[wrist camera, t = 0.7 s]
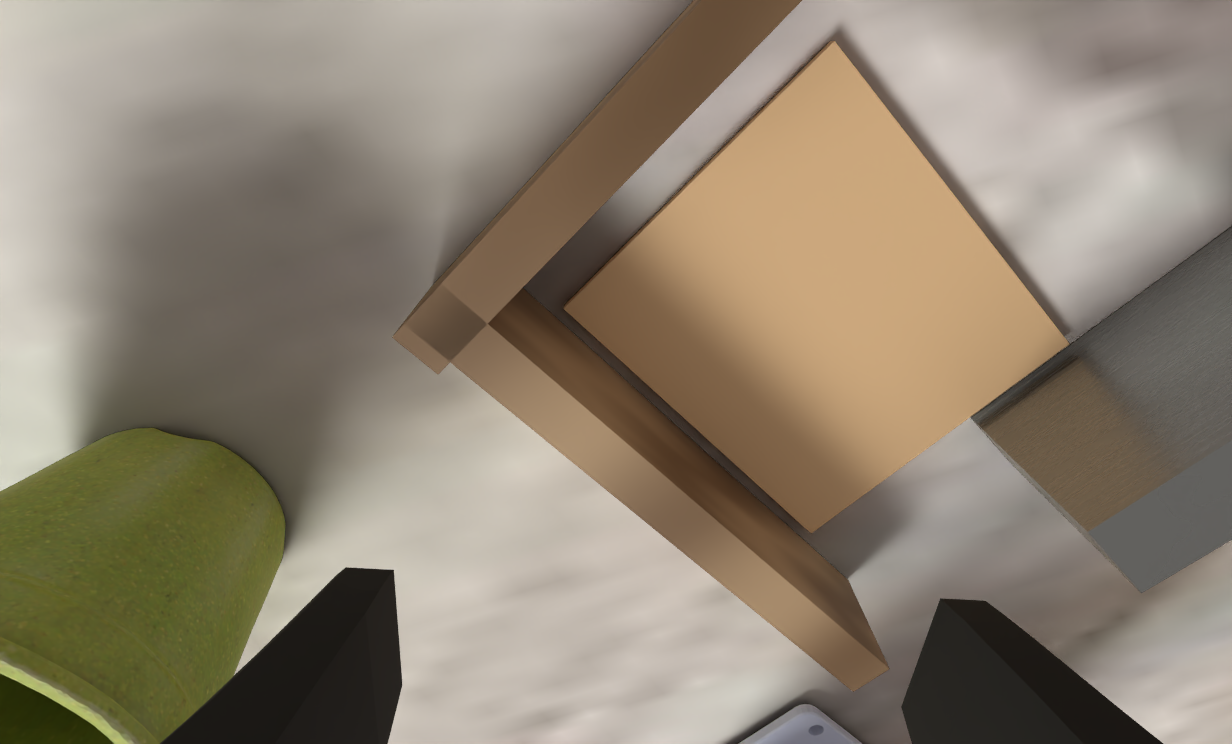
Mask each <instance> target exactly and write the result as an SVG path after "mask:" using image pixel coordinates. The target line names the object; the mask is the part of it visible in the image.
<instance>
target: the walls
mask: <svg viewBox="0 0 1232 744" xmlns="http://www.w3.org/2000/svg"><path fill="white" fill-rule="evenodd" d="M801 1H802V0H693V1H692V2H691V4H690V5H689V6H688V7H687V8H686V9H685V10H684V11H683V12H682V13H681V14H680V16H679V17H678V18H677V19H676V20H675V21H674V22H673V23H672V24H671V25H670V27H669V28H668V29H667V30H666V31H665V32H664V33H663V34H662V35H661V36H660V37H659V39H658V40H657V41H656V42H655V43H654V44H653V45H652V46H651V47H650V48H649V49H648V51H647V52H646V53H645V54H644V55H643V56H642V57H641V58H640V59H639V60H638V61H637V63H636V64H635V65H634V66H633V67H632V68H631V69H630V70H629V71H628V72H627V74H626V75H625V76H624V77H623V78H622V79H621V80H620V81H619V82H618V83H617V84H616V86H615V87H614V88H613V89H612V90H611V91H610V92H609V93H608V94H607V95H606V96H605V98H604V99H603V100H602V101H601V102H600V103H599V104H598V105H597V106H596V107H595V108H594V110H593V111H592V112H591V113H590V114H589V115H588V116H587V117H586V118H585V119H584V121H583V122H582V123H581V124H580V125H579V126H578V127H577V128H576V129H575V130H574V131H573V133H572V134H571V135H570V136H569V137H568V138H567V139H566V140H565V141H564V142H563V143H562V145H561V146H560V147H559V148H558V149H557V150H556V151H555V152H554V153H553V154H552V155H551V157H550V158H549V159H548V160H547V161H546V162H545V163H544V164H543V165H542V166H541V168H540V169H539V170H538V171H537V172H536V173H535V174H534V175H533V176H532V177H531V178H530V180H529V181H528V182H527V183H526V184H525V185H524V186H523V187H522V188H521V189H520V190H519V192H518V193H517V194H516V195H515V196H514V197H513V198H512V199H511V200H510V201H509V202H508V204H507V205H506V206H505V207H504V208H503V209H502V210H501V211H500V212H499V213H498V215H497V216H496V217H495V218H494V219H493V220H492V221H491V222H490V223H489V224H488V225H487V227H486V228H485V229H484V230H483V231H482V232H481V233H480V234H479V235H478V236H477V237H476V239H475V240H474V241H473V242H472V243H471V244H470V245H469V246H468V247H467V248H466V249H465V251H464V252H463V253H462V254H461V255H460V256H459V257H458V258H457V259H456V260H455V262H454V263H453V264H452V265H451V266H450V267H449V268H448V269H447V270H446V271H445V272H444V274H443V275H442V276H441V277H440V278H439V279H438V280H437V281H436V282H435V283H434V284H433V286H432V287H431V288H430V289H429V290H428V292H427V293H426V294H425V296H424V297H423V298H422V299H421V301H420V302H419V303H418V305H417V306H416V307H415V308H414V310H413V311H412V312H411V314H410V315H409V316H408V317H407V319H406V320H405V321H404V323H403V324H402V325H401V326H400V328H399V329H398V330H397V332H396V333H395V334H394V335H393V337H392V338H393V339H395V340H396V341H397V342H398V343H400V344H401V345H402V346H403V347H405V348H406V349H407V350H408V351H410V352H411V353H412V354H413V355H414V356H416V357H417V358H418V359H419V360H421V361H422V362H423V363H424V364H426V365H427V366H428V367H429V368H431V369H432V370H433V371H434V372H436V373H437V374H439V373H440V372H441V371H442V370H443V369H444V368H445V367H446V366H447V365H448V364H449V363H450V362H451V363H452V364H453V365H454V366H455V367H457V368H458V369H459V370H460V371H462V372H463V373H464V374H465V375H466V376H468V377H469V378H470V379H471V380H473V381H474V382H475V383H476V384H478V385H479V386H480V387H481V388H482V389H484V390H485V391H486V392H487V393H489V394H490V395H491V396H492V397H493V398H495V399H496V400H497V401H498V402H500V403H501V404H502V405H503V406H504V407H506V408H507V409H508V410H509V411H511V412H512V413H513V414H514V415H515V416H517V417H518V418H519V419H520V420H522V421H523V422H524V423H525V424H526V425H528V426H529V427H530V428H531V429H533V430H534V431H535V432H536V433H537V434H539V435H540V436H541V437H542V438H544V439H545V440H546V441H547V442H548V443H550V444H551V445H552V446H553V447H555V448H556V449H557V450H558V451H559V452H561V453H562V454H563V455H564V456H566V457H567V458H568V459H569V460H570V461H572V462H573V463H574V464H575V465H577V466H578V467H579V468H580V469H581V470H583V471H584V472H585V473H586V474H588V475H589V476H590V477H591V478H592V479H594V480H595V481H596V482H597V483H599V484H600V485H601V486H602V487H603V488H605V489H606V490H607V491H608V492H610V493H611V494H612V495H613V496H614V497H616V498H617V499H618V500H619V501H621V502H622V503H623V504H624V505H625V506H627V507H628V508H629V509H630V510H632V511H633V512H634V513H635V514H636V515H638V516H639V517H640V518H641V519H643V520H644V521H645V522H646V523H647V524H649V525H650V526H651V527H652V528H654V529H655V530H656V531H657V532H658V533H660V534H661V535H662V536H663V537H665V538H666V539H667V540H668V541H669V542H671V543H672V544H673V545H674V546H676V547H677V548H678V549H679V550H680V551H682V552H683V553H684V554H685V555H687V556H688V557H689V558H690V559H691V560H693V561H694V562H695V563H696V564H698V565H699V566H700V567H701V568H702V569H704V570H705V571H706V572H707V573H709V574H710V575H711V576H712V577H714V578H715V579H716V580H717V581H718V582H720V583H721V584H722V585H723V586H725V587H726V588H727V589H728V590H729V591H731V592H732V593H733V594H734V595H736V596H737V597H738V598H739V599H740V600H742V601H743V602H744V603H745V604H747V605H748V606H749V607H750V608H751V609H753V610H754V611H755V612H756V613H758V614H759V615H760V616H761V617H762V618H764V619H765V620H766V621H767V622H769V623H770V624H771V625H772V626H773V627H775V628H776V629H777V630H778V631H780V632H781V633H782V634H783V635H784V636H786V637H787V638H788V639H789V640H791V641H792V642H793V643H794V644H795V645H797V646H798V647H799V648H800V649H802V650H803V651H804V652H805V653H806V654H808V655H809V656H810V657H811V658H813V659H814V660H815V661H816V662H817V663H819V664H820V665H821V666H822V667H824V668H825V669H826V670H827V671H828V672H830V673H831V674H832V675H833V676H835V677H836V678H837V679H838V680H839V681H841V682H842V683H843V684H844V685H846V686H847V687H848V688H849V689H850V690H852V691H853V692H854V691H856V690H857V689H859V688H860V687H862V686H863V685H865V684H867V683H868V682H870V681H871V680H873V679H874V678H876V677H878V676H879V675H881V674H882V673H884V672H886V671H887V670H889V667H888V664H887V662H886V660H885V658H884V656H883V654H882V652H881V649H880V647H879V645H878V643H877V641H876V639H875V637H874V634H873V632H872V630H871V628H870V626H869V624H868V622H867V619H866V617H865V615H864V613H863V611H862V609H861V607H860V605H859V602H858V600H857V598H856V596H855V594H854V592H853V590H852V587H851V585H850V583H849V581H848V579H846V578H845V577H844V576H843V575H842V574H841V573H840V572H839V571H838V570H836V569H835V568H834V567H833V566H832V565H831V564H830V563H829V562H828V561H826V560H825V559H824V558H823V557H822V556H821V555H820V554H819V553H818V552H816V551H815V550H814V549H813V548H812V547H811V546H810V545H809V544H808V543H806V542H805V541H804V540H803V539H802V538H801V537H800V536H799V535H797V534H796V533H795V532H794V531H793V530H792V529H791V528H790V527H789V526H787V525H786V524H785V523H784V522H783V521H782V520H781V519H780V518H779V517H777V516H776V515H775V514H774V513H773V512H772V511H771V510H770V509H769V508H767V507H766V506H765V505H764V504H763V503H762V502H761V501H760V500H759V499H757V498H756V497H755V496H754V495H753V494H752V493H751V492H750V491H749V490H747V489H746V488H745V487H744V486H743V485H742V484H741V483H740V482H739V481H737V480H736V479H735V478H734V477H733V476H732V475H731V474H730V473H728V472H727V471H726V470H725V469H724V468H723V467H722V466H721V465H720V464H718V463H717V462H716V461H715V460H714V459H713V458H712V457H711V456H710V455H708V454H707V453H706V452H705V451H704V450H703V449H702V448H701V447H700V446H698V445H697V444H696V443H695V442H694V441H693V440H692V439H691V438H690V437H688V436H687V435H686V434H685V433H684V432H683V431H682V430H681V429H680V428H678V427H677V426H676V425H675V424H674V423H673V422H672V421H671V420H669V419H668V418H667V417H666V416H665V415H664V414H663V413H662V412H661V411H659V410H658V409H657V408H656V407H655V406H654V405H653V404H652V403H651V402H649V401H648V400H647V399H646V398H645V397H644V396H643V395H642V394H641V393H639V392H638V391H637V390H636V389H635V388H634V387H633V386H632V385H631V384H629V383H628V382H627V381H626V380H625V379H624V378H623V377H622V376H621V375H619V374H618V373H617V372H616V371H615V370H614V369H613V368H612V367H611V366H609V365H608V364H607V363H606V362H605V361H604V360H603V359H602V358H600V357H599V356H598V355H597V354H596V353H595V352H594V351H593V350H592V349H590V348H589V347H588V346H587V345H586V344H585V343H584V342H583V341H582V340H580V339H579V338H578V337H577V336H576V335H575V334H574V333H573V332H572V331H570V330H569V329H568V328H567V327H566V326H565V325H564V324H563V323H562V322H560V321H559V320H558V319H557V318H556V317H555V316H554V315H553V314H552V313H550V312H549V311H548V310H547V309H546V308H545V307H544V306H543V305H542V304H540V303H539V302H538V301H537V300H536V299H535V298H534V297H533V296H531V295H530V294H529V293H528V292H527V291H526V290H525V289H524V288H523V287H524V286H525V285H526V284H527V283H528V282H529V281H530V280H531V279H532V278H533V276H534V275H535V274H536V273H537V272H538V271H539V270H540V269H541V268H542V267H543V266H544V265H545V264H546V263H547V262H548V261H549V260H550V259H551V258H552V257H553V256H554V255H555V254H556V253H557V252H558V251H559V250H560V249H561V248H562V247H563V246H564V245H565V244H566V243H567V242H568V240H569V239H570V238H571V237H572V236H573V235H574V234H575V233H576V232H577V231H578V230H579V229H580V228H581V227H582V226H583V225H584V224H585V223H586V222H587V221H588V220H589V219H590V218H591V217H592V216H593V215H594V214H595V213H596V212H597V211H598V210H599V209H600V208H601V207H602V206H603V205H604V203H605V202H606V201H607V200H608V199H609V198H610V197H611V196H612V195H613V194H614V193H615V192H616V191H617V190H618V189H619V188H620V187H621V186H622V185H623V184H624V183H625V182H626V181H627V180H628V179H629V178H630V177H631V176H632V175H633V174H634V173H635V172H636V171H637V170H638V169H639V167H640V166H641V165H642V164H643V163H644V162H645V161H646V160H647V159H648V158H649V157H650V156H651V155H652V154H653V153H654V152H655V151H656V150H657V149H658V148H659V147H660V146H661V145H662V144H663V143H664V142H665V141H666V140H667V139H668V138H669V137H670V136H671V135H672V134H673V133H674V132H675V130H676V129H677V128H678V127H679V126H680V125H681V124H682V123H683V122H684V121H685V120H686V119H687V118H688V117H689V116H690V115H691V114H692V113H693V112H694V111H695V110H696V109H697V108H698V107H699V106H700V105H701V104H702V103H703V102H704V101H705V100H706V99H707V98H708V97H709V96H710V95H711V93H712V92H713V91H714V90H715V89H716V88H717V87H718V86H719V85H720V84H721V83H722V82H723V81H724V80H725V79H726V78H727V77H728V76H729V75H730V74H731V73H732V72H733V71H734V70H735V69H736V68H737V67H738V66H739V65H740V64H741V63H742V62H743V61H744V60H745V59H746V57H747V56H748V55H749V54H750V53H751V52H752V51H753V50H754V49H755V48H756V47H757V46H758V45H759V44H760V43H761V42H762V41H763V40H764V39H765V38H766V37H767V36H768V35H769V34H770V33H771V32H772V31H773V30H774V29H775V28H776V27H777V26H778V25H779V24H780V23H781V22H782V20H783V19H784V18H785V17H786V16H787V15H788V14H789V13H790V12H791V11H792V10H793V9H794V8H795V7H796V6H797V5H798V4H799V3H800V2H801Z"/></svg>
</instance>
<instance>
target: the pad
mask: <svg viewBox="0 0 1232 744" xmlns="http://www.w3.org/2000/svg"><path fill="white" fill-rule="evenodd" d="M564 310H566V311H567V312H568V313H569V314H570V315H571V316H572V317H573V318H574V319H575V320H577V321H578V322H579V323H580V324H581V325H582V326H583V327H584V328H585V329H586V330H588V331H589V332H590V333H591V334H592V335H593V336H594V337H595V338H596V339H597V340H599V341H600V342H601V343H602V344H603V345H604V346H605V347H606V348H607V349H608V350H610V351H611V352H612V353H613V354H614V355H615V356H616V357H617V358H618V359H619V360H621V361H622V362H623V363H624V364H625V365H626V366H627V367H628V368H629V369H630V370H632V371H633V372H634V373H635V374H636V375H637V376H638V377H639V378H640V379H642V380H643V381H644V382H645V383H646V384H647V385H648V386H649V387H650V388H651V389H653V390H654V391H655V392H656V393H657V394H658V395H659V396H660V397H661V398H662V399H664V400H665V401H666V402H667V403H668V404H669V405H670V406H671V407H672V408H673V409H675V410H676V411H677V412H678V413H679V414H680V415H681V416H682V417H683V418H684V419H686V420H687V421H688V422H689V423H690V424H691V425H692V426H693V427H694V428H695V429H697V430H698V431H699V432H700V433H701V434H702V435H703V436H704V437H705V438H706V439H708V440H709V441H710V442H711V443H712V444H713V445H714V446H715V447H716V448H717V449H719V450H720V451H721V452H722V453H723V454H724V455H725V456H726V457H727V458H728V459H730V460H731V461H732V462H733V463H734V464H735V465H736V466H737V467H738V468H740V469H741V470H742V471H743V472H744V473H745V474H746V475H747V476H748V477H749V478H751V479H752V480H753V481H754V482H755V483H756V484H757V485H758V486H759V487H760V488H762V489H763V490H764V491H765V492H766V493H767V494H768V495H769V496H770V497H771V498H773V499H774V500H775V501H776V502H777V503H778V504H779V505H780V506H781V507H782V508H784V509H785V510H786V511H787V512H788V513H789V514H790V515H791V516H792V517H793V518H795V519H796V520H797V521H798V522H799V523H800V524H801V525H802V526H803V527H804V528H806V529H807V530H808V531H809V532H810V533H813V532H814V531H815V530H817V529H818V528H819V527H821V526H822V525H823V524H825V523H826V522H828V521H829V520H830V519H832V518H833V517H834V516H836V515H837V514H839V513H840V512H841V511H843V510H844V509H845V508H847V507H848V506H849V505H851V504H852V503H854V502H855V501H856V500H858V499H859V498H860V497H862V496H863V495H864V494H866V493H867V492H869V491H870V490H871V489H873V488H874V487H875V486H877V485H878V484H879V483H881V482H882V481H884V480H885V479H886V478H888V477H889V476H890V475H892V474H893V473H894V472H896V471H897V470H899V469H900V468H901V467H903V466H904V465H905V464H907V463H908V462H909V461H911V460H912V459H914V458H915V457H916V456H918V455H919V454H920V453H922V452H923V451H924V450H926V449H927V448H929V447H930V446H931V445H933V444H934V443H935V442H937V441H938V440H939V439H941V438H942V437H944V436H945V435H946V434H948V433H949V432H950V431H952V430H953V429H954V428H956V427H957V426H959V425H960V424H961V423H963V422H964V421H965V420H967V419H968V418H969V417H971V416H972V415H974V414H975V413H976V412H978V411H979V410H980V409H982V408H983V407H984V406H986V405H987V404H989V403H990V402H991V401H993V400H994V399H995V398H997V397H998V396H999V395H1001V394H1002V393H1004V392H1005V391H1006V390H1008V389H1009V388H1010V387H1012V386H1013V385H1014V384H1016V383H1017V382H1019V381H1020V380H1021V379H1023V378H1024V377H1025V376H1027V375H1028V374H1029V373H1031V372H1032V371H1034V370H1035V369H1036V368H1038V367H1039V366H1040V365H1042V364H1043V363H1044V362H1046V361H1047V360H1049V359H1050V358H1051V357H1053V356H1054V355H1055V354H1057V353H1058V352H1059V351H1061V350H1062V349H1064V348H1065V347H1066V346H1068V345H1069V343H1068V341H1067V340H1066V339H1065V337H1064V336H1063V335H1062V334H1061V332H1060V331H1059V330H1058V328H1057V327H1056V326H1055V325H1054V323H1053V322H1052V321H1051V319H1050V318H1049V317H1048V316H1047V314H1046V313H1045V312H1044V310H1043V309H1042V308H1041V307H1040V305H1039V304H1038V303H1037V301H1036V300H1035V299H1034V297H1033V296H1032V295H1031V294H1030V292H1029V291H1028V290H1027V288H1026V287H1025V286H1024V285H1023V283H1022V282H1021V281H1020V279H1019V278H1018V277H1017V276H1016V274H1015V273H1014V272H1013V270H1012V269H1011V268H1010V267H1009V265H1008V264H1007V263H1006V261H1005V260H1004V259H1003V257H1002V256H1001V255H1000V254H999V252H998V251H997V250H996V248H995V247H994V246H993V245H992V243H991V242H990V241H989V239H988V238H987V237H986V236H985V234H984V233H983V232H982V230H981V229H980V228H979V227H978V225H977V224H976V223H975V221H974V220H973V219H972V218H971V216H970V215H969V214H968V212H967V211H966V210H965V208H964V207H963V206H962V205H961V203H960V202H959V201H958V199H957V198H956V197H955V196H954V194H953V193H952V192H951V190H950V189H949V188H948V187H947V185H946V184H945V183H944V181H943V180H942V179H941V178H940V176H939V175H938V174H937V172H936V171H935V170H934V168H933V167H932V166H931V165H930V163H929V162H928V161H927V159H926V158H925V157H924V156H923V154H922V153H921V152H920V150H919V149H918V148H917V147H916V145H915V144H914V143H913V141H912V140H911V139H910V138H909V136H908V135H907V134H906V132H905V131H904V130H903V129H902V127H901V126H900V125H899V123H898V122H897V121H896V119H895V118H894V117H893V116H892V114H891V113H890V112H889V110H888V109H887V108H886V107H885V105H884V104H883V103H882V101H881V100H880V99H879V98H878V96H877V95H876V94H875V92H874V91H873V90H872V89H871V87H870V86H869V85H868V83H867V82H866V81H865V79H864V78H863V77H862V76H861V74H860V73H859V72H858V70H857V69H856V68H855V67H854V65H853V64H852V63H851V61H850V60H849V59H848V58H847V56H846V55H845V54H844V52H843V51H842V50H841V49H840V47H839V46H838V45H837V43H836V42H835V41H830V42H829V43H828V44H827V45H826V46H825V47H824V48H823V49H822V50H821V51H820V52H819V53H818V54H817V55H816V56H815V57H814V58H813V59H812V60H811V61H810V62H809V63H808V64H807V65H806V66H805V67H804V68H803V69H802V70H801V71H800V72H799V73H798V74H797V75H796V76H795V77H794V78H793V79H792V80H791V81H790V82H789V83H788V84H787V85H786V86H785V87H784V88H783V89H782V90H781V91H780V92H779V93H778V94H777V95H776V96H775V97H774V98H773V99H772V100H771V101H770V102H769V103H768V104H767V105H766V106H765V107H764V108H763V109H762V110H761V111H760V112H759V113H758V114H757V115H756V116H754V117H753V118H752V119H751V120H750V121H749V122H748V123H747V124H746V125H745V126H744V127H743V128H742V129H741V130H740V131H739V132H738V133H737V134H736V135H735V136H734V137H733V138H732V139H731V140H730V141H729V142H728V143H727V144H726V145H725V146H724V147H723V148H722V149H721V150H720V151H719V152H718V153H717V154H716V155H715V156H714V157H713V158H712V159H711V160H710V161H709V162H708V163H707V164H706V165H705V166H704V167H703V168H702V169H701V170H700V171H699V172H698V173H697V174H696V175H695V176H694V177H693V178H692V179H691V180H690V181H689V182H688V183H687V184H686V185H685V186H684V187H683V188H682V189H681V190H680V191H679V192H678V193H677V194H676V195H675V196H674V197H673V198H672V199H671V200H670V201H669V202H668V203H667V204H666V205H665V206H664V207H663V208H662V209H661V210H660V211H659V212H658V213H657V214H656V215H655V216H654V217H653V218H652V219H650V220H649V221H648V222H647V223H646V224H645V225H644V226H643V227H642V228H641V229H640V230H639V231H638V232H637V233H636V234H635V235H634V236H633V237H632V238H631V239H630V240H629V241H628V242H627V243H626V244H625V245H624V246H623V247H622V248H621V249H620V250H619V251H618V252H617V253H616V254H615V255H614V256H613V257H612V258H611V259H610V260H609V261H608V262H607V263H606V264H605V265H604V266H603V267H602V268H601V269H600V270H599V271H598V272H597V273H596V274H595V275H594V276H593V277H592V278H591V279H590V280H589V281H588V282H587V283H586V284H585V285H584V286H583V287H582V288H581V289H580V290H579V291H578V292H577V293H576V294H575V295H574V296H573V297H572V298H571V299H570V300H569V301H568V302H567V303H566V304H565V305H564Z"/></svg>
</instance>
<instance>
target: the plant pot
mask: <svg viewBox="0 0 1232 744" xmlns="http://www.w3.org/2000/svg"><path fill="white" fill-rule="evenodd" d="M284 539H285V518H284V514H283V511H282V508H281V505H280V503H279V501H278V499H277V498H276V496H275V494H274V492H273V490H272V489H271V487H270V486H269V484H268V483H267V482H266V481H265V480H264V479H263V478H262V477H261V475H260V474H259V473H258V472H257V471H256V470H255V469H254V468H253V467H252V466H250V465H249V464H248V463H247V462H246V461H244V460H243V459H242V458H241V457H239V456H238V455H236V454H235V453H233V452H231V451H230V450H228V449H227V448H225V447H223V446H221V445H219V444H217V443H215V442H211V441H206V440H198V439H191V438H186V437H181V436H177V435H173V434H169V433H166V432H163V431H160V430H158V429H155V428H137V429H130V430H125V431H121V432H117V433H114V434H111V435H108V436H106V437H104V438H102V439H99V440H98V441H96V442H94V443H92V444H90V445H88V446H86V447H84V448H82V449H80V450H79V451H77V452H75V453H73V454H71V455H69V456H67V457H65V458H63V459H61V460H59V461H57V462H55V463H53V464H52V465H50V466H48V467H46V468H44V469H42V470H40V471H39V472H37V473H35V474H33V475H31V476H29V477H27V478H25V479H23V480H22V481H20V482H18V483H16V484H14V485H12V486H10V487H8V488H6V489H4V490H2V491H0V744H160V743H161V742H162V741H163V740H164V739H165V738H167V737H168V736H169V735H170V734H171V733H172V732H173V731H175V730H176V729H177V728H178V727H179V726H180V725H181V724H183V723H184V722H185V721H186V720H187V719H188V718H189V717H190V716H192V715H193V714H194V713H195V712H196V711H197V710H198V709H199V708H200V707H201V706H202V705H204V704H205V703H206V702H207V701H208V700H209V699H210V698H211V697H212V696H213V695H214V694H215V693H216V692H217V691H218V690H220V689H221V688H222V687H223V686H224V685H225V684H226V683H227V682H228V681H229V680H230V679H231V678H232V677H233V676H234V673H235V671H236V668H237V666H238V663H239V661H240V658H241V656H242V653H243V651H244V648H245V646H246V643H247V641H248V639H249V636H250V634H251V631H252V629H253V626H254V624H255V622H256V619H257V617H258V615H259V612H260V610H261V608H262V606H263V603H264V601H265V599H266V596H267V594H268V592H269V589H270V587H271V584H272V582H273V580H274V577H275V575H276V572H277V570H278V568H279V565H280V563H281V560H282V557H283V550H284Z"/></svg>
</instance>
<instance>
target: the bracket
mask: <svg viewBox="0 0 1232 744" xmlns="http://www.w3.org/2000/svg"><path fill="white" fill-rule="evenodd" d="M971 419H972V420H973V421H974V422H975V423H976V424H977V425H978V427H979V428H980V429H981V430H982V431H983V432H984V433H985V434H986V436H987V437H988V438H989V439H990V440H991V441H992V442H993V443H994V445H995V446H996V447H997V448H998V449H999V450H1000V451H1001V452H1002V454H1003V455H1004V456H1005V457H1006V458H1007V459H1008V460H1009V461H1010V463H1011V464H1012V465H1013V466H1014V467H1015V468H1016V469H1017V470H1018V471H1019V472H1020V473H1021V474H1022V475H1023V476H1024V477H1025V478H1026V479H1027V480H1028V481H1029V482H1030V483H1031V484H1032V485H1033V486H1034V487H1035V488H1036V489H1037V490H1038V491H1039V492H1040V493H1041V494H1042V495H1043V496H1044V497H1045V498H1046V499H1047V500H1048V501H1049V502H1050V503H1051V504H1052V505H1053V506H1054V507H1055V508H1056V509H1057V510H1058V511H1059V512H1060V513H1061V514H1062V515H1063V516H1064V517H1065V518H1066V519H1067V520H1068V521H1069V522H1070V523H1071V524H1072V525H1073V526H1074V527H1075V528H1076V529H1077V530H1078V531H1079V532H1080V533H1081V534H1082V535H1083V536H1084V537H1085V538H1086V539H1087V540H1088V541H1089V542H1090V543H1091V544H1092V545H1093V546H1094V547H1095V548H1096V549H1097V550H1098V551H1099V552H1100V553H1101V554H1102V555H1103V556H1104V557H1105V558H1106V559H1107V560H1108V561H1109V562H1110V563H1111V564H1112V565H1113V566H1115V567H1116V568H1117V569H1118V570H1119V571H1120V572H1121V573H1122V574H1123V575H1124V576H1125V577H1126V578H1127V579H1128V580H1129V581H1130V582H1131V583H1132V584H1133V585H1134V586H1135V587H1136V588H1137V589H1138V590H1139V591H1140V592H1141V593H1143V592H1144V591H1146V590H1148V589H1149V588H1151V587H1153V586H1154V585H1156V584H1158V583H1159V582H1161V581H1163V580H1165V579H1166V578H1168V577H1170V576H1171V575H1173V574H1175V573H1176V572H1178V571H1180V570H1181V569H1183V568H1185V567H1186V566H1188V565H1190V564H1191V563H1193V562H1195V561H1197V560H1198V559H1200V558H1202V557H1203V556H1205V555H1207V554H1208V553H1210V552H1212V551H1213V550H1215V549H1217V548H1218V547H1220V546H1222V545H1224V544H1225V543H1227V542H1229V541H1230V540H1232V227H1231V228H1229V229H1228V230H1227V231H1225V232H1224V233H1222V234H1221V235H1220V236H1218V237H1217V238H1216V239H1214V240H1213V241H1212V242H1210V243H1209V244H1207V245H1206V246H1205V247H1203V248H1202V249H1201V250H1199V251H1198V252H1196V253H1195V254H1194V255H1192V256H1191V257H1190V258H1188V259H1187V260H1186V261H1184V262H1183V263H1181V264H1180V265H1179V266H1177V267H1176V268H1175V269H1173V270H1172V271H1171V272H1169V273H1168V274H1166V275H1165V276H1164V277H1162V278H1161V279H1160V280H1158V281H1157V282H1155V283H1154V284H1153V285H1151V286H1150V287H1149V288H1147V289H1146V290H1145V291H1143V292H1142V293H1140V294H1139V295H1138V296H1136V297H1135V298H1134V299H1132V300H1131V301H1130V302H1128V303H1127V304H1125V305H1124V306H1123V307H1121V308H1120V309H1119V310H1117V311H1116V312H1114V313H1113V314H1112V315H1110V316H1109V317H1108V318H1106V319H1105V320H1104V321H1102V322H1101V323H1099V324H1098V325H1097V326H1095V327H1094V328H1093V329H1091V330H1090V331H1089V332H1087V333H1086V334H1084V335H1083V336H1082V337H1080V338H1079V339H1078V340H1076V341H1075V342H1074V343H1072V344H1071V345H1069V346H1068V347H1067V348H1065V349H1064V350H1063V351H1061V352H1060V353H1058V354H1057V355H1056V356H1054V357H1053V358H1052V359H1050V360H1049V361H1048V362H1046V363H1045V364H1043V365H1042V366H1041V367H1039V368H1038V369H1037V370H1035V371H1034V372H1033V373H1031V374H1030V375H1028V376H1027V377H1026V378H1024V379H1023V380H1022V381H1020V382H1019V383H1017V384H1016V385H1015V386H1013V387H1012V388H1011V389H1009V390H1008V391H1007V392H1005V393H1004V394H1002V395H1001V396H1000V397H998V398H997V399H996V400H994V401H993V402H992V403H990V404H989V405H987V406H986V407H985V408H983V409H982V410H981V411H979V412H978V413H976V414H975V415H974V416H972V417H971Z"/></svg>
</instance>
